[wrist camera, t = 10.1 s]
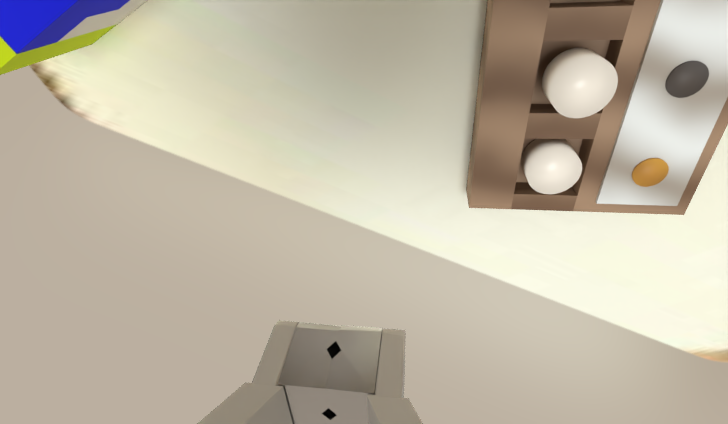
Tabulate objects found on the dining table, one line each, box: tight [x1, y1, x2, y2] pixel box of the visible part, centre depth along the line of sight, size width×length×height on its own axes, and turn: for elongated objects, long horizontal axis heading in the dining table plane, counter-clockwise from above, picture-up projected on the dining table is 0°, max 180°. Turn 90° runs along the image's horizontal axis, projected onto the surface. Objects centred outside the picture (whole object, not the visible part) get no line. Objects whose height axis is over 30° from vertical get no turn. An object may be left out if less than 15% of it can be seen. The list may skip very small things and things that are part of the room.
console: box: [466, 0, 728, 215], centre depth 29 cm, size 22×17×4 cm
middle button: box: [542, 48, 618, 118], centre depth 27 cm, size 4×4×2 cm
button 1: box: [521, 139, 582, 194], centre depth 33 cm, size 4×4×2 cm
